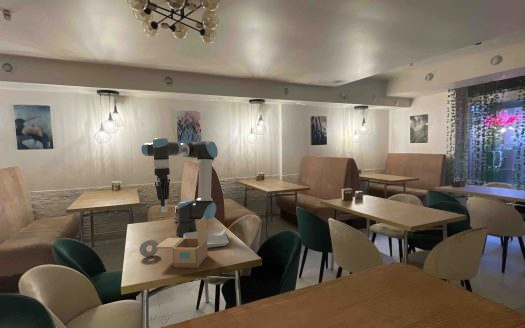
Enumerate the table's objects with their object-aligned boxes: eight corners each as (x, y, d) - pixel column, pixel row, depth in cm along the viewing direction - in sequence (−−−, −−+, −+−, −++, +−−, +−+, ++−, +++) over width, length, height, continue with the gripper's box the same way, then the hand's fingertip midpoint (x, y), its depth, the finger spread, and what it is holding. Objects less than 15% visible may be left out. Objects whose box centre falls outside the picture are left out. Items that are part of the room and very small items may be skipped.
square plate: (184, 238, 181) (183, 232, 180) (224, 233, 187) (224, 228, 187) (181, 253, 154) (181, 246, 154) (229, 247, 160) (229, 241, 160)
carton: (169, 255, 151) (168, 237, 151) (207, 255, 149) (206, 237, 148) (155, 267, 136) (153, 248, 135) (197, 268, 133) (196, 248, 132)
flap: (204, 216, 147) (205, 216, 146) (206, 238, 147) (208, 237, 147) (195, 223, 134) (197, 223, 134) (198, 247, 134) (200, 246, 134)
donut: (140, 260, 146) (139, 242, 145) (139, 258, 149) (138, 240, 148) (159, 255, 151) (158, 238, 151) (158, 253, 154) (157, 236, 153)
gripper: (161, 166, 148) (163, 208, 150) (148, 168, 135) (151, 215, 137) (174, 166, 148) (176, 208, 149) (162, 168, 134) (165, 215, 136)
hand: (164, 211), depth 143 cm, fingers closed
